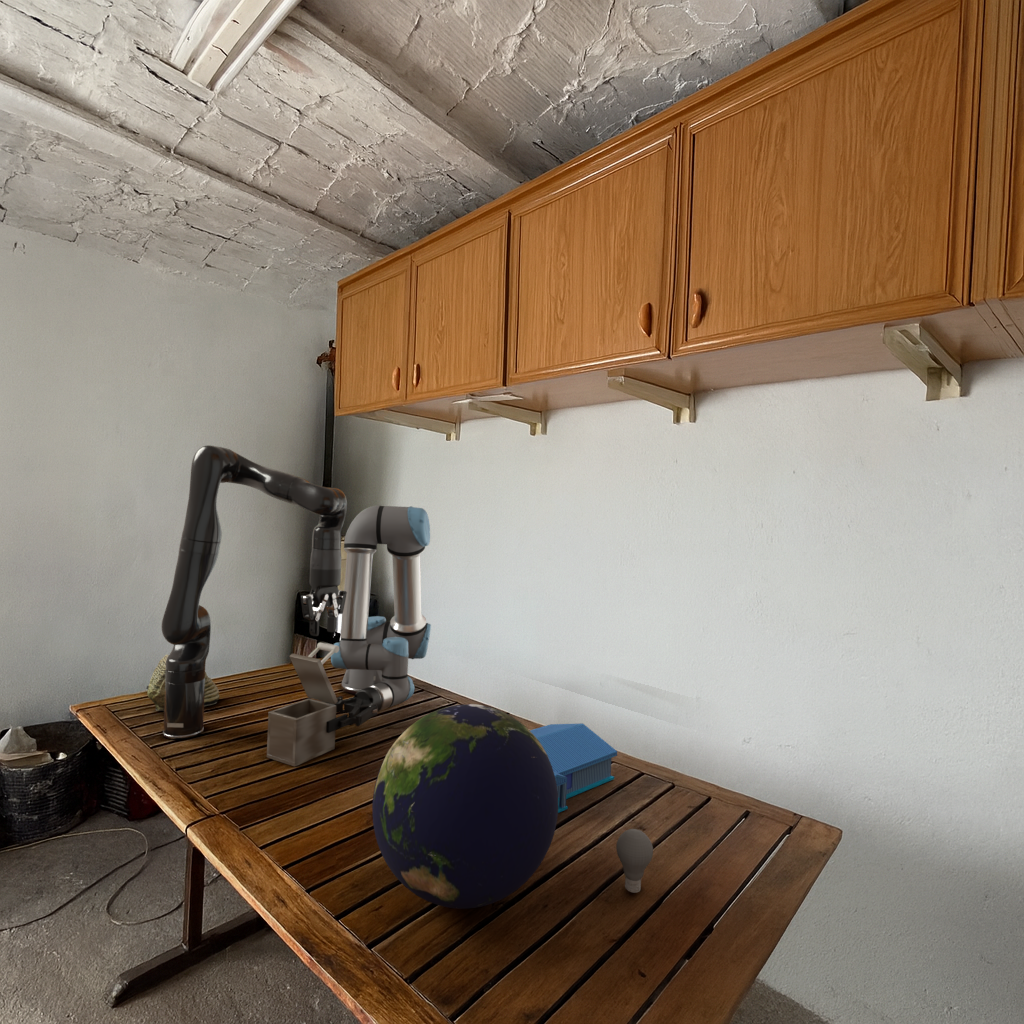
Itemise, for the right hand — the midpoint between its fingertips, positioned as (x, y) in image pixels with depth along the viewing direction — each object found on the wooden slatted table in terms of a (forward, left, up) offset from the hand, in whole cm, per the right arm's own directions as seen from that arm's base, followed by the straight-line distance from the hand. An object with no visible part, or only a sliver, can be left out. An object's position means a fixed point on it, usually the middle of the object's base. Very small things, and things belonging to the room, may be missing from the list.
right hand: (312, 723), depth 158 cm
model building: (+14, +55, -6) cm, 57 cm away
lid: (+1, 0, +11) cm, 11 cm away
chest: (+3, -2, -6) cm, 7 cm away
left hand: (-2, +1, +22) cm, 22 cm away
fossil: (-24, -47, -6) cm, 53 cm away
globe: (+53, +45, -6) cm, 70 cm away
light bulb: (+49, +73, -6) cm, 88 cm away
